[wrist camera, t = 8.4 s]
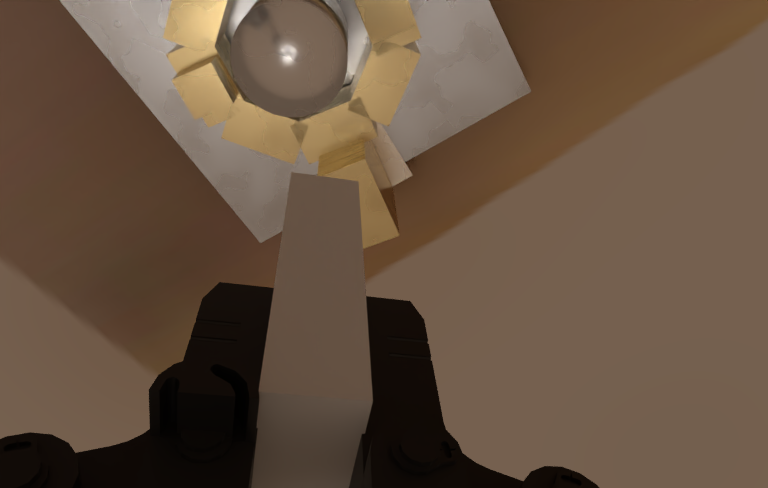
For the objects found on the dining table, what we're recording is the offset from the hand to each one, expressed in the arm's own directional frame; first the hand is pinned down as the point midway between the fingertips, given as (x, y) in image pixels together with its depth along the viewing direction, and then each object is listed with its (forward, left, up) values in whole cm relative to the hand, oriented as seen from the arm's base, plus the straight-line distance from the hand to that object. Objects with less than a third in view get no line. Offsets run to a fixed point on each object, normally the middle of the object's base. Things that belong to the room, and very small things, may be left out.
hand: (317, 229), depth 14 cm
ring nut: (0, -1, -16) cm, 16 cm away
